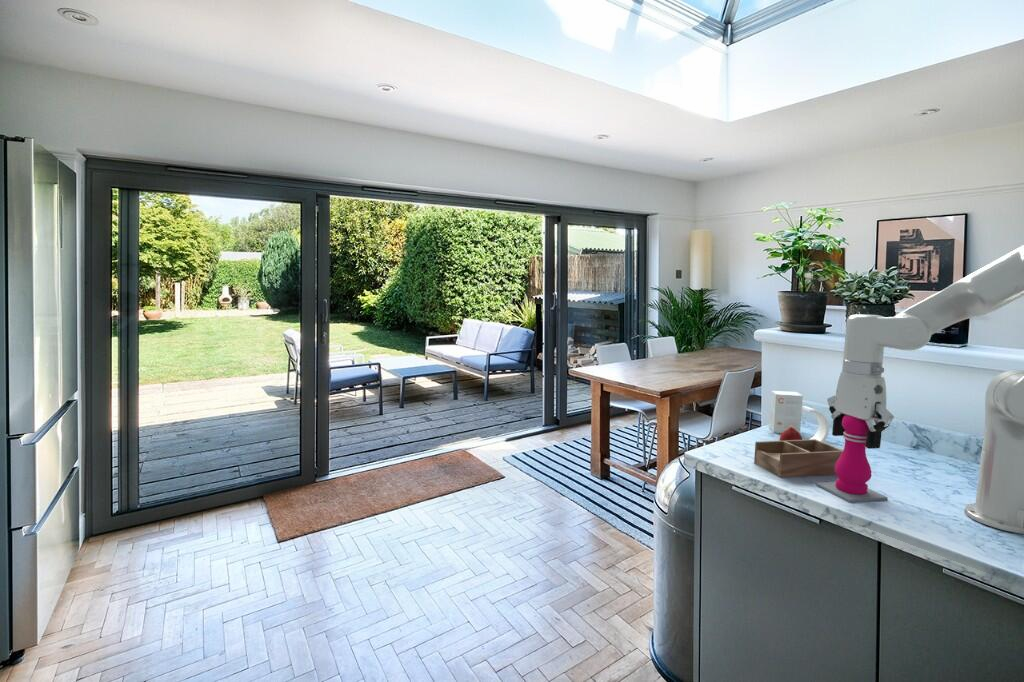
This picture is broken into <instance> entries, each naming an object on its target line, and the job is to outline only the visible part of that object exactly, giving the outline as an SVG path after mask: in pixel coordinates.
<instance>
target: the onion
mask: <svg viewBox="0 0 1024 682" xmlns="http://www.w3.org/2000/svg"><path fill="white" fill-rule="evenodd" d="M784 440H803V437H802V435H801V433H800V434H799V432H798V431H796V430H795V429H794V428H793V426H790V427H789V429H787V430H785V431H784V432H783V433H780V436H779V441H784Z"/></svg>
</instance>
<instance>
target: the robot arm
mask: <svg viewBox="0 0 1024 682" xmlns="http://www.w3.org/2000/svg"><path fill="white" fill-rule="evenodd" d="M1023 296H1024V244H1022V245H1021V246H1019V247H1017V248H1016V249H1014V250H1012V251H1010V252H1008V253H1006V254H1005V255H1003V256H1001V257H999V258H998V259H995V260H993V261H992V262H990V263H988V264H986V265H984V266H983V267H981V268H979V269H977V270H976V271H974V272H971V273H970V274H968V275H966V276H965V277H962V278H960V279H959V280H957V281H956V282H954V283H952V284H950V285H948V286H947V287H945V288H944V289H942V290H939V292H936V293H934V294H932V295H930V296H928V297H927V298H925V299H924V300H923V299H922V300H921V301H919V302H918V303H916V304H914V305H911V306H910V307H908V308H906V309H905V310H903V311H901V312H899V313H897V314H896V315H894V316H888V317H887V316H886V317H885V316H883V315H877V314H865V313H864V314H863V313H862V314H859V313H857V314H851V315H849V316H848V317H847V319H846V322H845V323H846V324H845V334H844V335H845V336H844V347H843V356H842V357H843V358H842V369H841V371H840V374H839V378H838V381H837V386H836V390H835V395H832V396H830V397H828V398H827V399H826V401H827V403H828V410H829V412H830V413H831V418H832V419H833V421H832V431H831V435H832V436H835V437H843V436H844V432H845V429H844V428H843V426H842V419H843V417H844V416H845V415H850V416H853V417H855V418H857V419H861V420H865V421H866V423H867V425H868V427H869V429H870V430H869V431H867V437H866V449H872V450H873V449H880V448H881V444H882V443H881V441H882V432H885V430H886V429H887V428H889V426H890V424H891V423H892V421H894V418H895V416H894V415H893V414H892V413H891V412H890V410H888V409H887V386H886V381H885V377H884V376H883V375H882V374H883V373H884V372H885V368H884V367H883V364H884V363H883V362H884V351H885V350H884V349H885V348H889V349H890V348H891V349H895V350H900V351H916V350H919V349H921V348H923V347H925V346H926V345H928V343H929V342H930V341H931V337H932V335H934V334H937V333H938V332H940V331H942V330H944V329H946V328H948V327H950V326H952V325H955V324H957V323H960V322H961V321H965V320H968V319H971V318H972V319H973V318H975V317H980V316H984V315H987V314H989V313H992V312H994V311H996V310H999V309H1001V308H1002V307H1004V306H1006V305H1009V304H1010V303H1013V302H1014V301H1017V300H1018V299H1020V298H1022V297H1023ZM986 387H987V388H986V391H985V395H984V397H985V399H984V400H985V401H984V403H985V404H984V409H985V410H984V412H985V413H984V430H983V437H982V439H983V440H982V445H981V446H982V447H981V453H980V454H981V455H980V461H979V468H978V469H979V470H978V472H979V473H978V480H977V485H976V486H977V487H976V496H975V503H969V504H967V505H965V506H964V513H965V515H967V516H968V517H969V518H970V519H972V520H974V521H976V522H978V523H981V524H983V525H986V526H989V527H992V528H993V529H994V528H995V529H997V530H1001V531H1004V532H1005V531H1006V532H1010V533H1016V534H1021V535H1024V369H1011V370H1006V371H1003V372H1001V373H999V374H997V375H996V376H994V377H993V378H992V379H991V380H990V381H989V383H988V385H987V386H986Z"/></svg>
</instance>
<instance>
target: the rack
mask: <svg viewBox="0 0 1024 682" xmlns="http://www.w3.org/2000/svg"><path fill="white" fill-rule="evenodd" d="M843 450H844V449H841V448H839V447H836V446H834V445H831V444H828V443H826V442H825V441H824V442H821V441H819V440H816V439H811V438H809V439H802V440H784V441H780V440H766V441H765V440H763V441H762V440H761V441H760V440H759V441H755V445H754V458H753V459H754V461H753V464H755V465H757V466H759V467H761V468H762V469H764V470H766V471H768V472H770V473H772V474H773V475H775V476H777V477H779V478H796V477H813V476H814V477H815V476H833V475H835V476H837V475H836V473H835V465H836V462H837V460H838V459H839V457H840V456H841V454H842V452H843ZM767 453H780V460H779V459H777V458H775V457H773V456H771V455H769V454H767Z"/></svg>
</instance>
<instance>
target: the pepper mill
mask: <svg viewBox="0 0 1024 682" xmlns="http://www.w3.org/2000/svg"><path fill="white" fill-rule="evenodd" d="M842 426H843V428H844V429H845V432H844V436H842V437H843V439H844V446H843V449H842V450H843V452H842V454H841V456H840V457H839V459H838V460H837V462H836V465H835V473H836V475H835V476H837V477H838V478H837V479H836V480H835V482H836V488H837V489H839V490H840V491H843V492H846V493H850V494H855V495H864V494H866V493H867V489H868V488H869V486H868V484H867V482H868V481H870V480H871V479H872V469H871V465H870V462H869V461H868V457H867V455H866V454H867V453H866V449H867V448H866V437H867V431H869V430H870V429H869V427H868V425H867V423H866V421H865V420H861V419H857V418H855V417H853V416H850V415H845V416H844V417H843V419H842Z"/></svg>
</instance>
